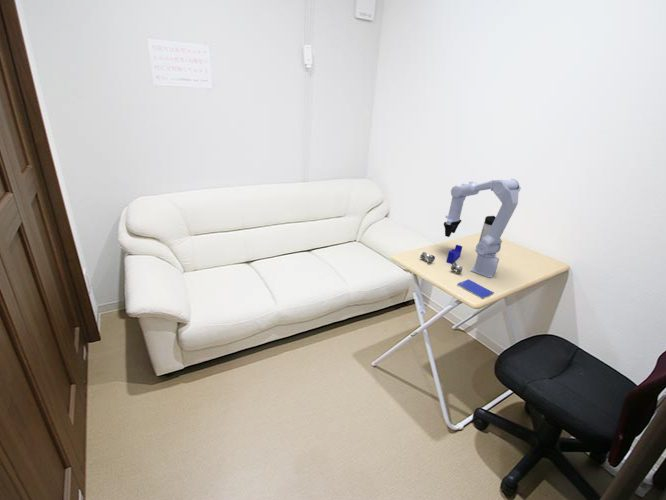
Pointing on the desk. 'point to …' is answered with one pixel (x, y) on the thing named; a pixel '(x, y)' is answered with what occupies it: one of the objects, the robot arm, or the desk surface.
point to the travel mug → (487, 226)
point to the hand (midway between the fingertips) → (449, 234)
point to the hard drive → (475, 289)
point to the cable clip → (454, 254)
